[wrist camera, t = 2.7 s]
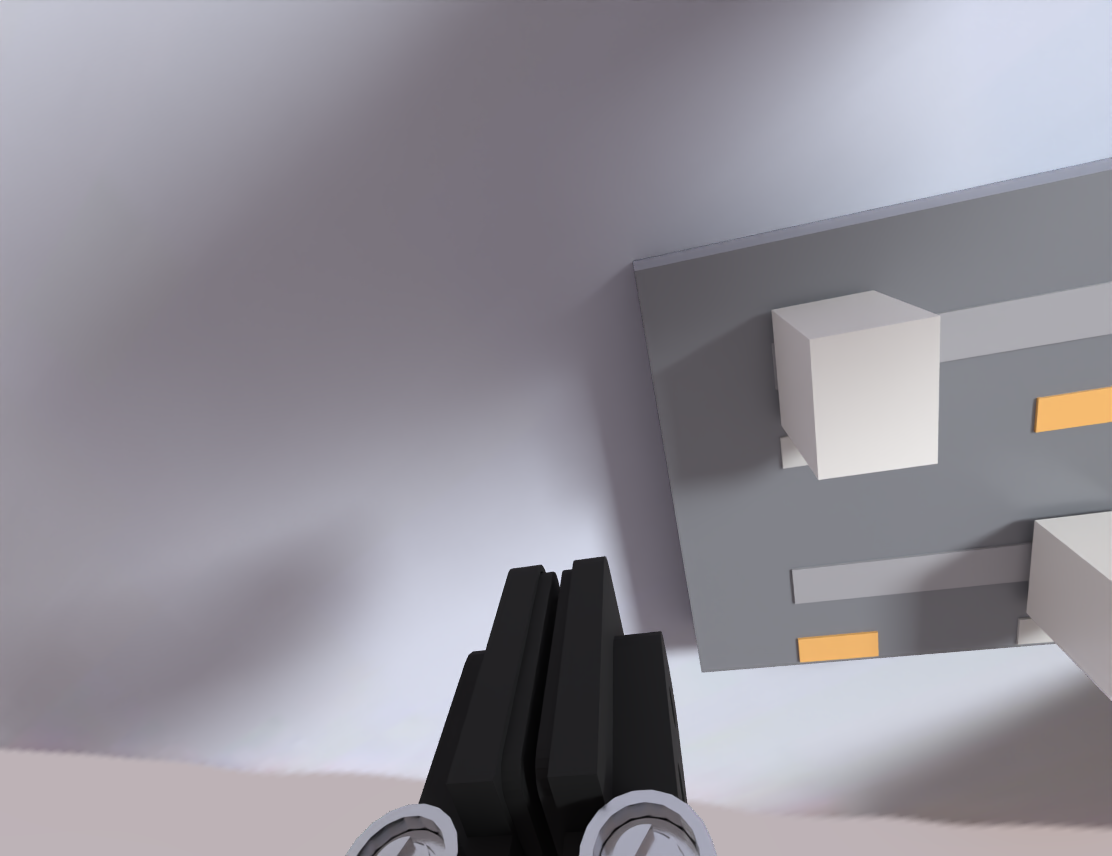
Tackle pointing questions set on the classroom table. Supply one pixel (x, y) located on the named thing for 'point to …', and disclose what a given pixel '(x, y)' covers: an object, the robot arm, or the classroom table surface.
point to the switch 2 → (1075, 590)
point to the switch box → (902, 494)
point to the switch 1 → (859, 383)
